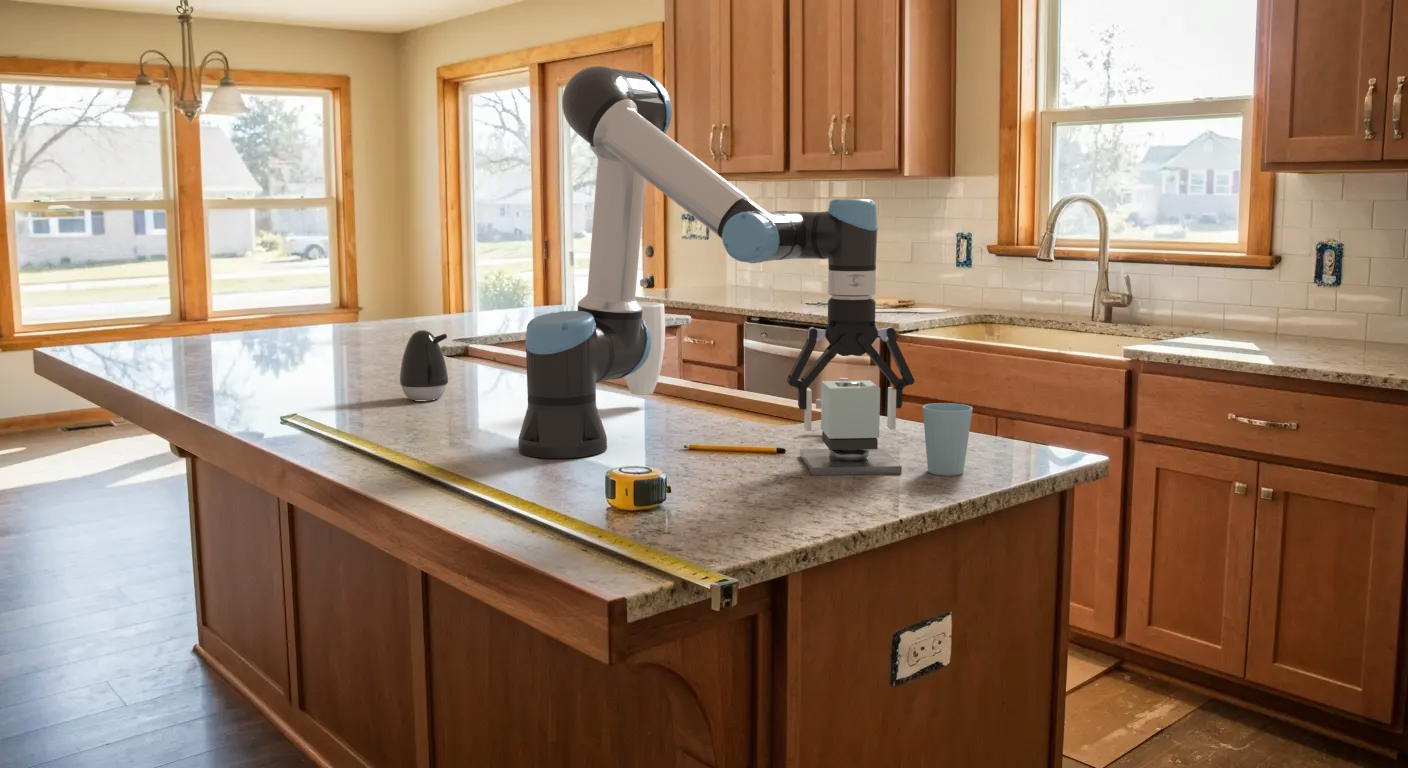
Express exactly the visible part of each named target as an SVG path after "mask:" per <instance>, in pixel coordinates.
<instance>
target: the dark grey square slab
mask: <svg viewBox="0 0 1408 768" xmlns="http://www.w3.org/2000/svg"><path fill="white" fill-rule="evenodd" d="M821 431H822V430H821ZM821 433H822V437H821V438H822V439H821V440H822V442H823V443H824V445H825V446H826V447H827V449H830V450H862V449H877V448H879V447H878V439H879V438H836V439H829V438H828V437H827V436H826V434H825V433H824V432H823V431H822V432H821Z"/></svg>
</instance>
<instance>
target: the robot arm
mask: <svg viewBox="0 0 1408 768" xmlns="http://www.w3.org/2000/svg"><path fill="white" fill-rule="evenodd" d="M561 102H562V103H561V105H562V111H563V115H564V118H565V120H566V122H567V123H568V125H569V126H570V128H571V129H572V130H573V131H574V132H575V133H576V134H577V135H578V136H580V138H582V139H583V140H584V141H586V142H587V143H589V148H590V149H591V150H590V151H592V153H594V155H595V156H596V158H597V163H596V164H597V166H596V177H595V178H596V179H595V191H594V202H593V203H594V204H593V218H592V228H591V229H592V231H591V242H590V256H589V269H588V277H587V278H588V279H587V281H588V282H587V293H586V295H585V296H584V297H582V298H581V299H580V300H579V301H577V302H578V303H577V310H564V311H558V312H549V313H545V314H541V315H538V316H535V317H533V318H532V319H531V320H529V322H527V323H528V324H527V325H526V333H525V334H526V335H525V336H526V337H525V343H524V346H525V354H526V356H525V357H526V359H525V360H526V383H527V384H526V387H527V408H526V411H525V414H524V415H525V416H524V417H523V418H524V419H523V422H522V426H521V428H520V432H519V436H518V440H517V441H518V452H519V453H520V454H521V453H522V455H524V456H527V455H528V457H532V458H533V457H534V458H541V459H573V458H585V457H589V456H595V455H598V454H602V453H604V452H605V451H607V449H608V440H607V439H608V438H607V433H606V431H605V428H604V425H603V422H602V418H601V416H600V412H599V410H598V406H597V400H596V399H597V396H596V395H597V386H596V383H601V382H605V381H611V380H619V379H622V378H625V376H627V375H629V374H632V373H634V372H635V371H637V370H638V369H639V368H640V367H641V366H642V365H643V364H644V363H645V361H646V360H647V358H648V356H649V353H650V349H651V334H650V331H649V328H647V327H646V323H645V321H644V320H643V319H642V311H643V308H642V306H641V305H640V304H639V303H638V302H639V301H638V300H637V298H636V293H637V281H638V280H637V279H638V269H639V256H640V247H641V246H640V245H641V236H642V233H641V232H642V225H643V222H642V221H643V212H644V200H645V190H646V180H647V182H649V183H650V184H651V185H653V187H655V188H656V189H658V191H660V192H662V193H663V194H664V195H665V196H667V198H669V199H670V200H672V201H673V202H674V203H676V204H677V205H678V206H679V207H681V208H682V209H683V210H684V211H686V212H687V213H688V214H690V215H691V216H692V217H693V218H695V219H696V220H697V221H698V222H700V223H701V224H702V225H704V226H705V227H706V228H708V229H709V230H710V231H711V232H712V233H714V234H715V235H717V237H719V238H721V239H722V243H723V246H724V248H725V251H726V252H727V254H728V255H729V256H730V257H731V258H732V259H734V260H736V261H738V262H742V263H748V264H757V263H758V264H760V263H763V262H771V261H782V260H793V259H794V260H795V259H798V260H799V259H800V260H801V259H805V260H806V259H808V260H810V259H812V260H813V259H814V260H815V259H818V260H819V259H820V260H825V259H826V260H827V261H828V269H827V270H828V272H827V273H828V279H827V281H828V282H827V294H828V295H829V296H831V298H829V299H828V300H827V325H826V327H825V329H821V328H815V327H813V326H809V327H808V328H807V334H806V341H805V342H804V343H803V344H804V345H803V347H802V348H801V351H800V352H799V354H798V356H797V358H796V360H795V363H794V365H793V366H792V368H791V371H790V373H789V374H788V376H787V379H786V383H787V384H788V385H789V386H790V387H794V388H796V389H797V406H798V408H799V410H801V411H802V410H804V412H803V413H804V419H803V422H804V423H803V428H804V429H805V431H806V432H811V431H812V420H813V419H812V415H813V413H812V411H813V410H812V409H813V408H812V407H813V406H812V405H813V401H812V400H813V396H812V395H813V390H812V389H811V387H810V385H811V384H812V383H813V382H814V381H815V379H816V378H817V377H818V376H819V375H820V374H821V372H822V371H823V370H824V369H825V368H826V367H827V365H828V364H829V363H830V362H831V361H832V360H833V359H834V358H835V357H836V356H837V355H839V356H842V357H849V356H856V357H862V356H863V355H865V354H866V355H867V356H868V357H869V358H870V359H871V361H872V362H874V365H876V366H877V367H878V369H879V370H880V371H881V373H883V375H884V376H885V377H886V378H887V379H888V381H889V382H890V383H891V384H892V386H888V387H887V416H886V417H887V421H886V423H887V424H886V425H887V428H888V429H889V430H891V431H894V430H895V431H896V425H897V424H896V420H897V418H896V417H897V416H896V415H897V409H902V406H903V390H904V388H905V387H907V386H909V385H910V386H912V385H914V384H915V378H914V376H913V375H912V372H911V370H910V368H909V366H908V364H907V361H906V360H905V358H904V355H903V354H902V352H901V349H900V347H899V345H898V343H897V338H896V337H897V336H896V329H894V327H891V326H885V327H883V328H877V327H876V300H875V298H872V297H873V296H874V295H876V291H877V281H876V278H877V243H878V239H877V237H878V230H879V227H878V219H877V218H878V216H877V215H878V214H877V204H876V203H875V201H874V200H872V199H870V198H869V199H867V198H855V199H854V198H852V199H851V198H847V199H846V198H844V199H843V198H842V199H841V198H840V199H839V198H838V199H836V198H835V199H831V200H830V202H829V204H828V209H827V211H821V212H820V211H788V210H776V211H768V210H766V209H764V208H763V207H761V206H760V205H759V204H758V203H757V202H755V201H754V200H752V199H751V198H750V197H749V196H748V195H746V194H745V193H744V192H743V191H741V190H740V189H739V188H737V187H736V186H734V184H732V183H730V182H729V181H728V180H726V178H724V177H722V175H720V173H719V174H718V173H717V172H716V171H715V170H713V169H712V168H711V167H709V166H708V165H707V164H705V163H704V162H703V161H701V160H700V159H699V158H697V157H696V156H695V155H694V154H692V152H690V151H688V149H686V148H684V147H683V146H682V145H681V144H679V143H678V142H676V141H675V140H674V139H673V138H671V137H670V136H669V135H667V134H666V132H667V131H668V129H669V128H670V124H671V122H672V117H673V107H672V102H671V98H670V96H669V93H668V90H666V88H665V87H664V86H663V84H662V83H661V82H660V81H658V79H655V78H654V77H652V76H650V75H648V74H644V73H642V72H638V71H634V70H633V71H632V70H631V71H630V70H624V69H618V68H611V67H606V66H601V65H600V66H599V65H595V66H594V65H593V66H589V67H586V68H583V69H581V70H579V71H577V72H576V73H575V74H574V75H573V76H572V77H571V78H570V79H569V80H568V82H567V83H566V85H565V87H564V90H563V94H562V100H561ZM823 337H824V338H825V340H827V342H828V343H829V345H828V346H827V347H826V348H825V350H824V351H823V353H821V354H820V356H819V357H818V359H817V360H816V361H815V362H814V363H813V364H812V365H811V367H810V368H809V369H808V370H807V371H806V372H805V374H804V375H803V376H802V377H801V375H802V373H803V371H804V369H805V367H806V365H807V362H808V361H809V359H810V357H811V356H812V353H813V351H814V350H815V346H816V343H820V342H821V340H822V338H823ZM878 337H880V339H881V340H882V341H883V342H885V343H886V346H887V348H888V350H889V352H890V354H891V356H892V358H893V361H894V363H895V365H896V367H897V369H898V371H899V373H900V375H901V378H899V377H898V376H897V374H896V373H895V372H894V370H893V369H892V368H891V367H890V366H889V365H888V364H887V363H886V361H885V360H884V359H883V357H882V356H881V355H880V354H879V352H878V351H877V349H875V347H874V346H873V344H874V342H875V341H876V339H878ZM800 377H801V378H800Z"/></svg>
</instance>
